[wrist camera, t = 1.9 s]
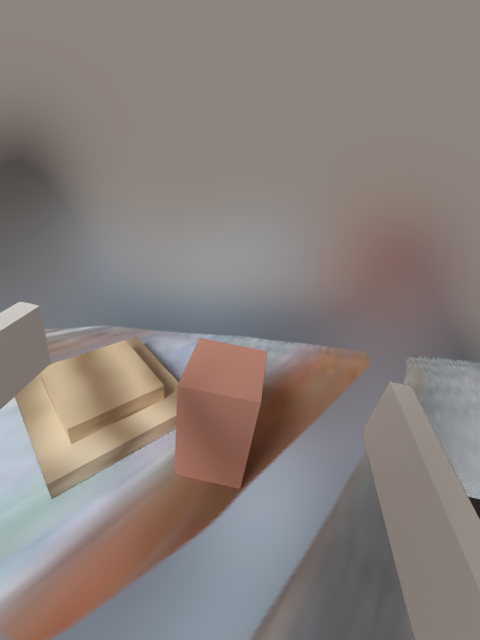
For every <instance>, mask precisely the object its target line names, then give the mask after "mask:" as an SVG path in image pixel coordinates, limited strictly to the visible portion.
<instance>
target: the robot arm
mask: <svg viewBox="0 0 480 640" xmlns="http://www.w3.org/2000/svg"><path fill="white" fill-rule="evenodd" d="M50 364H51V358H50V354H49V349H48V344H47V339H46V335H45V330H44V325H43V321H42V316H41V311H40V307H39V306H38V305H33V304H29V303H24V302H18V303H17V304H15V305H13V306H12V307H10V308H8V309H7V310H5V311H3V312H1V313H0V409H1V408H2V407H3V406H5V405H6V404H7V403H8V402H9V401H10V400H11V399H12V398H13V397H14V396H16V395H17V394H18V393H19V392H20V391H21V390H22V389H23V388H24V387H25V386H27V385H28V384H29V383H30V382H31V381H32V380H33V379H34V378H35V377H36V376H37V375H39V374H40V373H41V372H42V371H43V370H44V369H45V368H46V367H47V366H48V365H50ZM362 436H363V439H364V443H365V447H366V451H367V455H368V459H369V463H370V467H371V471H372V475H373V479H374V483H375V487H376V490H377V494H378V498H379V502H380V506H381V510H382V514H383V518H384V522H385V526H386V530H387V534H388V537H389V541H390V545H391V549H392V553H393V557H394V561H395V565H396V569H397V573H398V577H399V581H400V584H401V588H402V592H403V596H404V600H405V604H406V608H407V612H408V616H409V620H410V624H411V627H412V631H413V635H414V639H415V640H480V499H475V498H471V497H468V496H467V494H466V492H465V490H464V488H463V486H462V484H461V482H460V480H459V478H458V476H457V474H456V472H455V470H454V468H453V467H452V465H451V463H450V461H449V459H448V457H447V455H446V453H445V451H444V449H443V447H442V445H441V443H440V441H439V439H438V437H437V435H436V433H435V431H434V429H433V427H432V426H431V424H430V422H429V420H428V418H427V416H426V414H425V412H424V410H423V408H422V406H421V404H420V402H419V400H418V398H417V396H416V394H415V392H414V390H413V388H412V386H408V385H403V384H399V383H393V382H389V384H388V386H387V388H386V390H385V391H384V393H383V395H382V397H381V399H380V400H379V402H378V404H377V406H376V407H375V409H374V411H373V413H372V415H371V416H370V418H369V420H368V422H367V423H366V425H365V427H364V429H363V431H362Z"/></svg>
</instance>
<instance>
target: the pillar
mask: <svg viewBox="0 0 480 640" xmlns="http://www.w3.org/2000/svg"><path fill="white" fill-rule="evenodd" d="M266 356H267V351H262V350H257V349H252V348H247V347H242V346H237V345H232V344H227V343H222V342H217V341H212V340H207V339H202V338H199V340H198V343H197V345H196V347H195V349H194V351H193V353H192V355H191V357H190V360H189V362H188V364H187V366H186V368H185V370H184V372H183V375H182V377H181V379H180V381H179V383H178V385H177V414H176V449H175V474H176V475H180V476H185V477H189V478H193V479H198V480H202V481H207V482H211V483H216V484H220V485H224V486H229V487H233V488H238V489H240V488H241V484H242V479H243V475H244V471H245V467H246V463H247V459H248V455H249V450H250V446H251V442H252V438H253V434H254V430H255V425H256V421H257V417H258V413H259V409H260V405H261V398H262V390H263V381H264V373H265V365H266Z"/></svg>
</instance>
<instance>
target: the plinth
mask: <svg viewBox="0 0 480 640" xmlns="http://www.w3.org/2000/svg"><path fill="white" fill-rule="evenodd" d="M177 385H178V382H177V380H176V379H175V378H174V377H173V376H172V375H171V374H170V373H169V372H168V371H167V369H166V368H165V367H164V366H163V365H162V364H161V363H160V362H159V361H158V360H157V359H156V357H155V356H154V355H153V354H152V353H151V352H150V351H149V350H148V349H147V348H146V346H145V345H144V344H143V343H142V342H141V341H140V340H139V339H138V338H137V337H134V338H131V339H128V340H124V341H121V342H118V343H115V344H112V345H109V346H106V347H103V348H100V349H96V350H93V351H90V352H87V353H84V354H81V355H78V356H75V357H72V358H69V359H65V360H62V361H59V362H56V363H53V364H50V365H48V366H47V367H46V368H45V369H44V370H43V371H42V372H41V373H40V374H39V375H37V376H36V377H35V378H34V379H33V380H32V381H31V382H30V383H29V384H28V385H27V386H25V387H24V388H23V389H22V390H21V391H20V392H19V393H18V394H17V395H16V396H15V398H16V401H17V404H18V407H19V410H20V412H21V415H22V418H23V421H24V424H25V426H26V429H27V432H28V435H29V437H30V440H31V443H32V446H33V449H34V451H35V454H36V457H37V460H38V463H39V465H40V468H41V471H42V474H43V477H44V479H45V482H46V485H47V488H48V490H49V493H50V495H51V498H54V497H56V496H57V495H59V494H61V493H63V492H65V491H66V490H68V489H70V488H72V487H73V486H75V485H77V484H79V483H80V482H82V481H84V480H86V479H87V478H89V477H91V476H93V475H94V474H96V473H98V472H100V471H102V470H103V469H105V468H107V467H109V466H110V465H112V464H114V463H116V462H117V461H119V460H121V459H123V458H124V457H126V456H128V455H130V454H131V453H133V452H135V451H137V450H139V449H140V448H142V447H144V446H146V445H147V444H149V443H151V442H153V441H154V440H156V439H158V438H160V437H161V436H163V435H165V434H167V433H168V432H170V431H172V430H174V429H176V414H177Z"/></svg>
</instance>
